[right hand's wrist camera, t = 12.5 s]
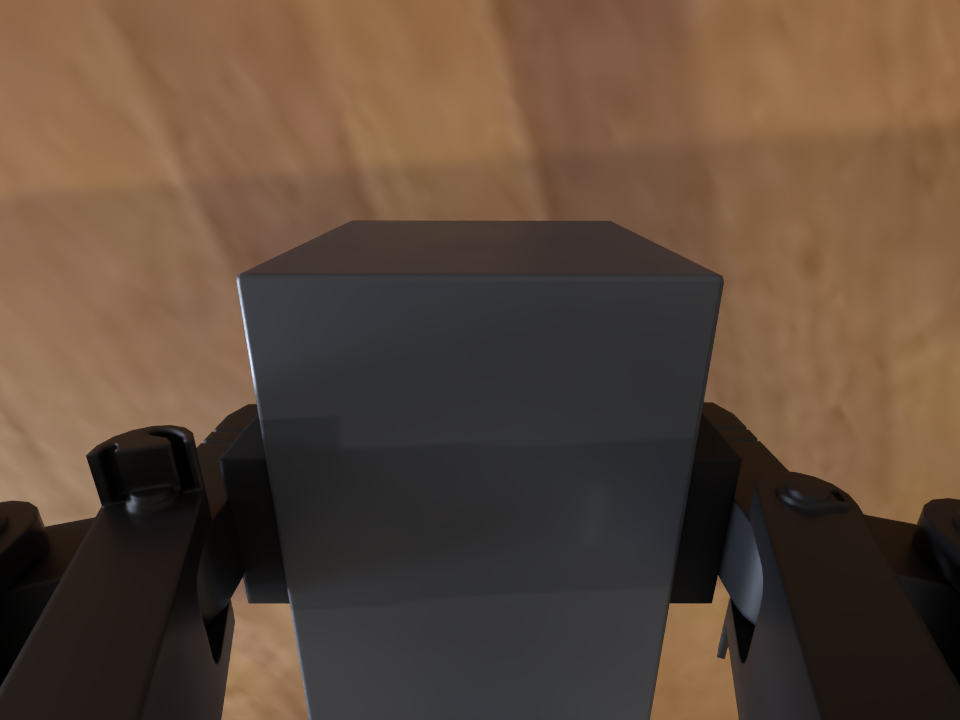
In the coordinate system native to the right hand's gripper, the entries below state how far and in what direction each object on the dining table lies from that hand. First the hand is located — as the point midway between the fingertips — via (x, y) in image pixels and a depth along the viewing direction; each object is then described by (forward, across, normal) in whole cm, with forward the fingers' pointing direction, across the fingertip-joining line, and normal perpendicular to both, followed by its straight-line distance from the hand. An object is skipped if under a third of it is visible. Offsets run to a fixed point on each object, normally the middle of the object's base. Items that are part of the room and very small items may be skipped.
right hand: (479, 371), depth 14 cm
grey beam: (-1, 0, -10) cm, 10 cm away
